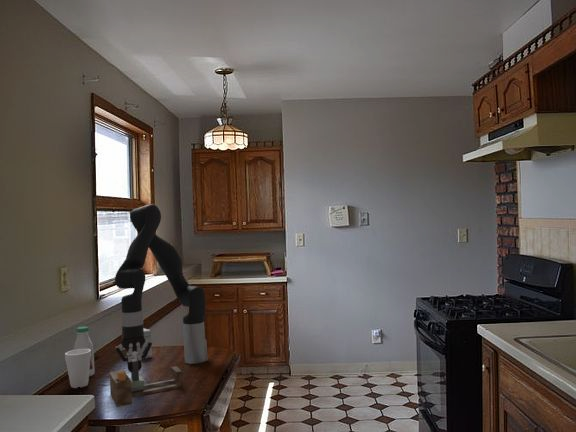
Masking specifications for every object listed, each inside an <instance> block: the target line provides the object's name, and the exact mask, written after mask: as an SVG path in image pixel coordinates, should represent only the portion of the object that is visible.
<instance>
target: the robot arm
mask: <svg viewBox="0 0 576 432" xmlns="http://www.w3.org/2000/svg"><path fill="white" fill-rule="evenodd" d="M129 217H130V218H129V219H130V222H131V224H132V226H133V227H134V229H135V230H136V231H137V233H138V234H137V235H136V236H135V237H134V238H133V240H132V242H131V243H130V246H129V247H128V250H127V253H126V256H125V257H126V258H125V259H124V261H123V262H122V264H121V266H119V268H118V270H117V271H116V273H115V276H114V283H115V285H116V287H117V288H119V289H123V290H124V289H125V290H127V289H133V292H132V293H131V294H125V295H124V296H122V297H121V300H120V301H121V335H122V337H121V338H122V339H121V342H120V344H118V345H116V346H114V349H115V351H116V352H117V355H118V356H119V357H120V359H121V360H122V361H123V362H126V363H127V370H128V371H129V372H130V373H131V372H133V371H132V361H131V359H133V358H132V352H134V351H136V355H137V360H138V368H139V372H140V371H141V369H142V368H143V365H142V360H144V359H143V358H145V359H147V358H146V356H147V354H148V352H149V350H150V348H151V346H152V345H153V343H152V341H151V342H150V341H146V340H145V338H144V330H143V328H144V316H143V310H142V309H143V308H142V307H143V305H142V304H143V303H142V298H143V292H144V286H145V283H146V273H145V272H144V270H143V269H142V268H143V267H144V266H145V262H146V258H147V255H148V250H150V252H151V253H152V255H153V256H154V258H155V260H156V262H157V264H158V265H159V267H160V269H161V270H162V272H163V273H164V275H165V277H166V278H167V280H168V282H169V283H170V286H171V287H172V290H173V291H174V294H175V296H176V299H177V300H178V302H179V303H180V305H182V306H184V307H186V308H187V307H188V313H187V314H186V315H184V316H183V317H182V328H183V351H184V363H185V364H189V365H194V364H195V365H196V364H201V363H203V362H208V346H207V345H208V344H207V343H208V341H207V339H206V333H205V332H206V331H205V317H206V311H207V310H206V307H207V306H206V305H207V303H206V298H207V297H206V293H205V290H204V288H203V287H201V286H198V285H190V284H189V283H188V281H187V279H186V278H185V276H184V272H183V260H182V258H181V255H180V254H179V252H178V251H177V249H176V247H175V246H174V245H173V244H171V243H170V242H168V241H167V240H165V239H164V238H162V237H160V236H159V235H157V234H156V232H157V230H158V228H159V226H160V224H161V220H162V214H161V211H160V209H159V207H158V206H157V205H156V204H154V203H151V204H146V205H144V206H141V207H138V208H134V209H132V210H131V211H130V214H129ZM144 343H145V349H144V351H143V353H142V355H141V350H140V349H141V348H142V346H143V345H144ZM123 348H124V349H125V350H126V356H125V354H124V353H123V352H122V351H123Z"/></svg>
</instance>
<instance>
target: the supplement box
mask: <svg viewBox="0 0 576 432" xmlns="http://www.w3.org/2000/svg"><path fill="white" fill-rule="evenodd" d="M143 330H144V338H145V340H146V341H150V342H151V343H152V331H151V329H148V328H145V327H143ZM144 349H145V343H144V345H143V346H142V348H141V349H140V350H141V355H142V353H143V351H144ZM148 357H149V358H152V357H153V349H152V346H151V348H150V350H149V352H148V354H147V356H146V358H145V359H149V358H148ZM132 359H137V355H136V351H134V352H132ZM142 360H144V358H143V359H142Z"/></svg>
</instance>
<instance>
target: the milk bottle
mask: <svg viewBox="0 0 576 432" xmlns="http://www.w3.org/2000/svg"><path fill="white" fill-rule="evenodd" d="M89 331H90V329H89V327H88V326H79V327H77V328H76V334H77V336H76V340H75V343H74V345H73V350H77V349H90V350H91V357H90V369H89V377H92V376H94V375H95V358H94V357H95V355H94V354H95V353H94V345H93V342H92V339H91V338H90V336H89Z"/></svg>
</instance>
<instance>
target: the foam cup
mask: <svg viewBox="0 0 576 432" xmlns="http://www.w3.org/2000/svg"><path fill="white" fill-rule="evenodd" d="M90 357H91V350H90V349H77V350H74V349H72V350H69V351H66V352H65V353H64V360H65V363H66V364H65V365H66V369H67V373H68V379H69V384H70V388H72V389H78V387H80V388H84V387H87V386H88V385H89V380H90V379H89V378H90V376H89V369H90Z"/></svg>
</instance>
